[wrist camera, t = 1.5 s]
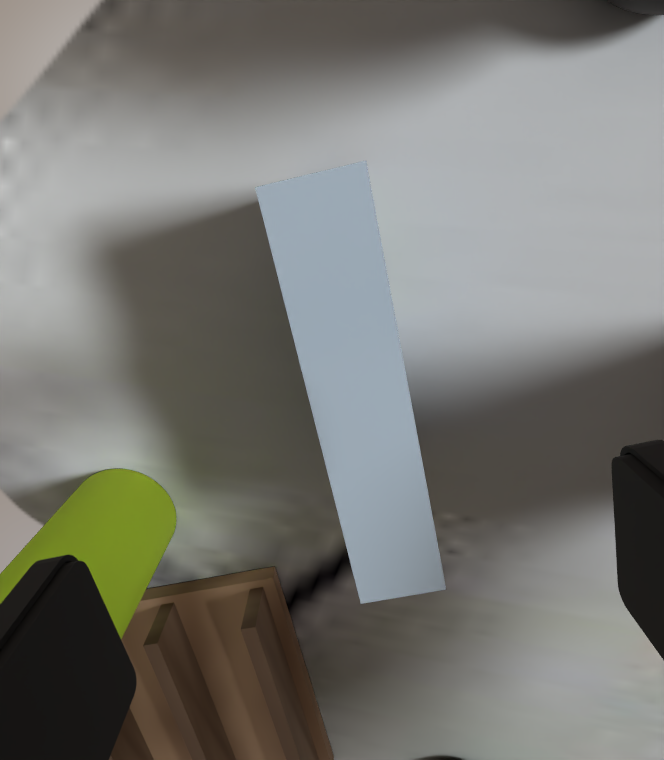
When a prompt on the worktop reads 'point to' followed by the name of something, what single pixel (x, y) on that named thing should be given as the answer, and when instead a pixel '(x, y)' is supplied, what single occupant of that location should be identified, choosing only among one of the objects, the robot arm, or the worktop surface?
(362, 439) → the pale blue block
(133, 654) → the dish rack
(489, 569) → the worktop surface
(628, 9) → the cola bottle
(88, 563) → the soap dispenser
